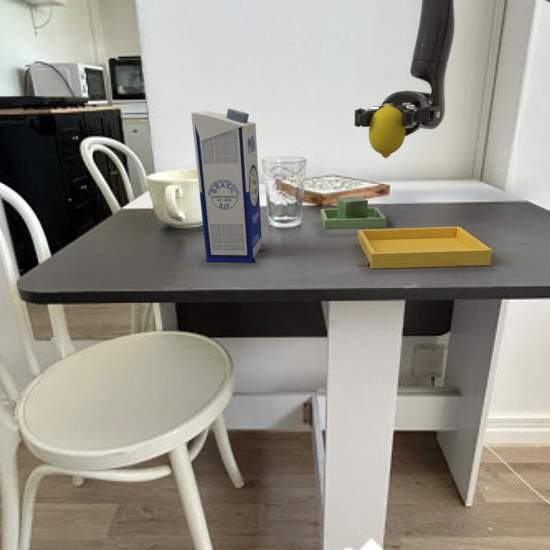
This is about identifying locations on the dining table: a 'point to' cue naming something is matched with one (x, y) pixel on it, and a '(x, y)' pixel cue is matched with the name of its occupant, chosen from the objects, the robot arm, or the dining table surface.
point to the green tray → (353, 220)
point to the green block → (352, 207)
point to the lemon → (386, 130)
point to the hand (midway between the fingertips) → (384, 118)
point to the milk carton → (228, 185)
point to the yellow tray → (422, 248)
